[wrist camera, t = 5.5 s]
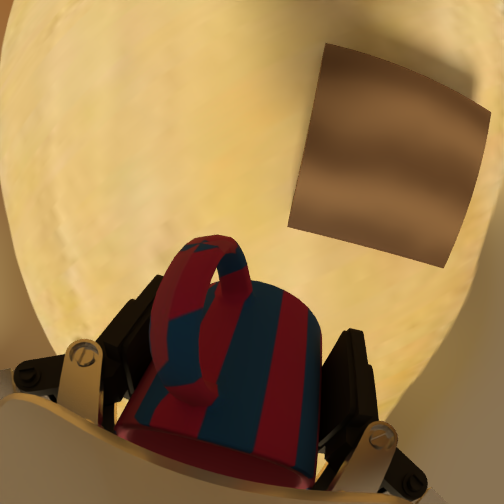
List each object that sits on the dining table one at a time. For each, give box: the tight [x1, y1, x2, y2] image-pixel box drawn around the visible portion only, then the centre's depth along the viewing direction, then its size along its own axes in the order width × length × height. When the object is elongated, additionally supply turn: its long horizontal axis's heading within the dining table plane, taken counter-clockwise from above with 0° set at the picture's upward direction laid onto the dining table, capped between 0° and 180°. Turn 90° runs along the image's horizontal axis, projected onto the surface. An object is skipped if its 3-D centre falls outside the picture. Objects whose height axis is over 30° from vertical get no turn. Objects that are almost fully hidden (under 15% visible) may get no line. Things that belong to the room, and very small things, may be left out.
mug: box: [114, 235, 322, 490], centre depth 9 cm, size 7×10×7 cm
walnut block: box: [287, 43, 491, 268], centre depth 19 cm, size 14×14×4 cm
